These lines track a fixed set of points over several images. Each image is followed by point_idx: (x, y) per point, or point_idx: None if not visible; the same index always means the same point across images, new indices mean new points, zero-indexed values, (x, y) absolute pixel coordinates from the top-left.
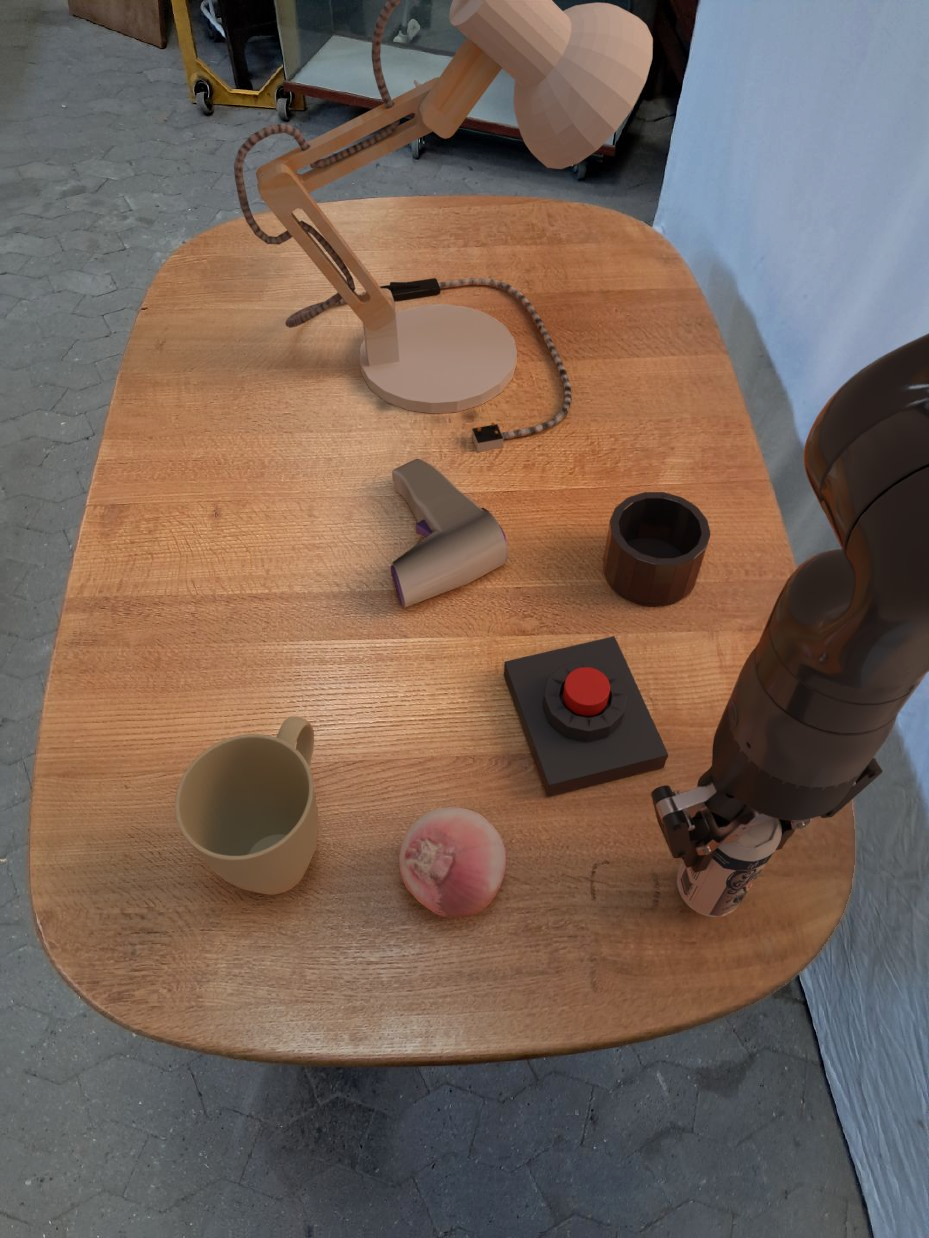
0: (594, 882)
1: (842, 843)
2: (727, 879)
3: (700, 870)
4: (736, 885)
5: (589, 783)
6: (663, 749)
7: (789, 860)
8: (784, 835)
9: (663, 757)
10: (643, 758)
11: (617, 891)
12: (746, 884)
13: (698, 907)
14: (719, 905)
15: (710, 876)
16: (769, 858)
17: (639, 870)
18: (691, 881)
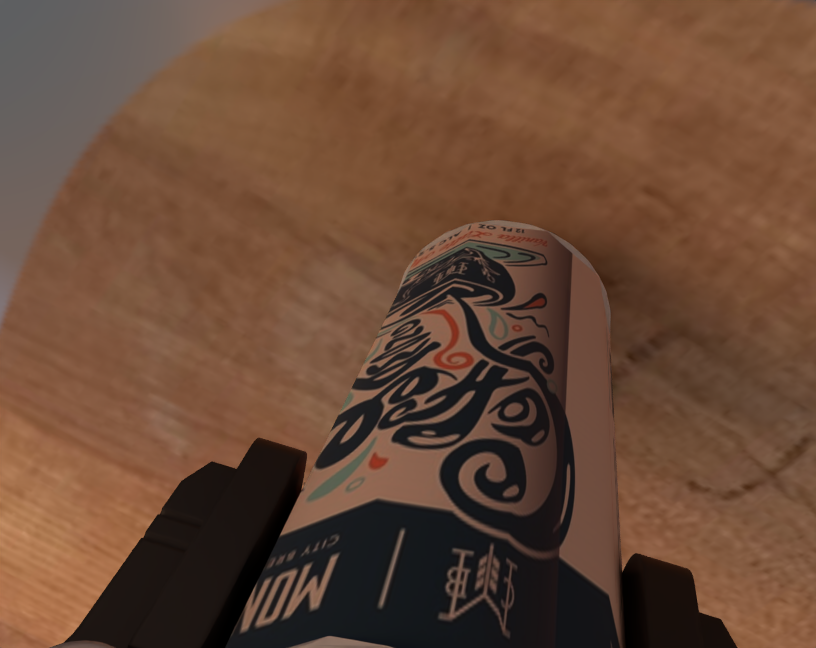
0: (769, 467)
1: (66, 188)
2: (574, 470)
3: (673, 580)
4: (535, 404)
5: None
6: None
7: (229, 229)
8: (209, 598)
9: None
10: None
11: (732, 418)
12: (475, 364)
13: (600, 297)
14: (558, 287)
15: (609, 487)
16: (362, 547)
17: (630, 425)
18: (614, 426)
